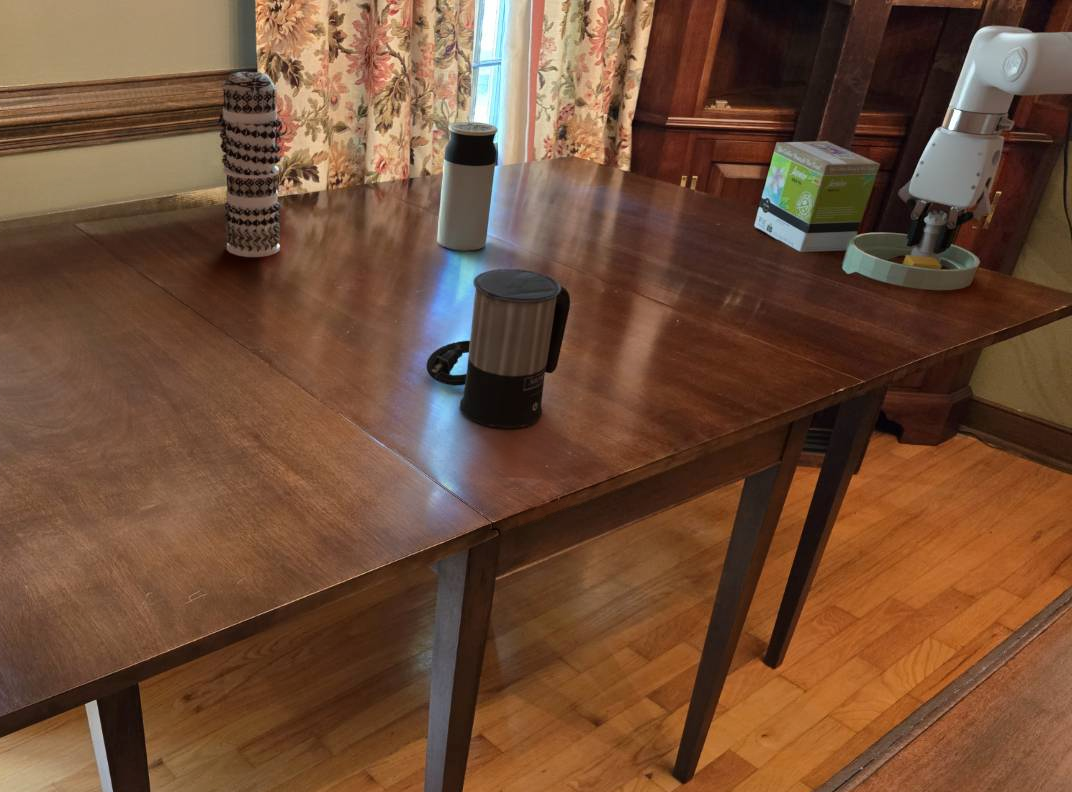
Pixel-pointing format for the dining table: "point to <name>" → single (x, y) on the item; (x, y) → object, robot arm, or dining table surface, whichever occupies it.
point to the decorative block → (922, 262)
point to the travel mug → (467, 186)
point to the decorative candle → (250, 164)
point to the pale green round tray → (876, 248)
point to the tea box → (815, 195)
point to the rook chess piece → (930, 235)
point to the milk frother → (507, 347)
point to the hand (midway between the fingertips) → (926, 247)
